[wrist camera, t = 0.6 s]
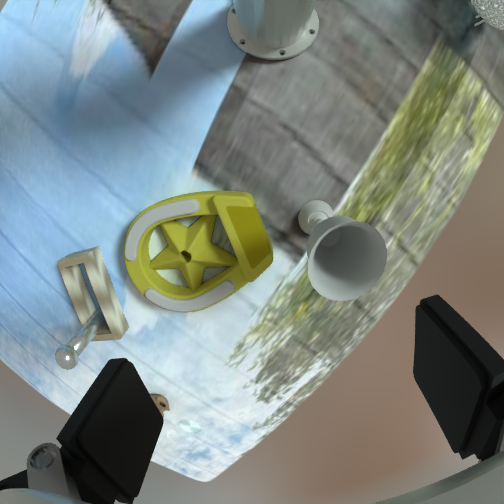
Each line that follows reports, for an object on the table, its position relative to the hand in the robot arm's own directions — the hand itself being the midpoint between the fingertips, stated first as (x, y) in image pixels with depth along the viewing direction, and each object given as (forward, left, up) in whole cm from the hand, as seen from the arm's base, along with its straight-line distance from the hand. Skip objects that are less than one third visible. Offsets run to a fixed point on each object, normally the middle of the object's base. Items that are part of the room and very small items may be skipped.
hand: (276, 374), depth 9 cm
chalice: (+4, +6, -35) cm, 35 cm away
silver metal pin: (+13, -31, -34) cm, 48 cm away
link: (+9, -31, -34) cm, 47 cm away
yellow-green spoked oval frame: (+4, -12, -35) cm, 37 cm away
